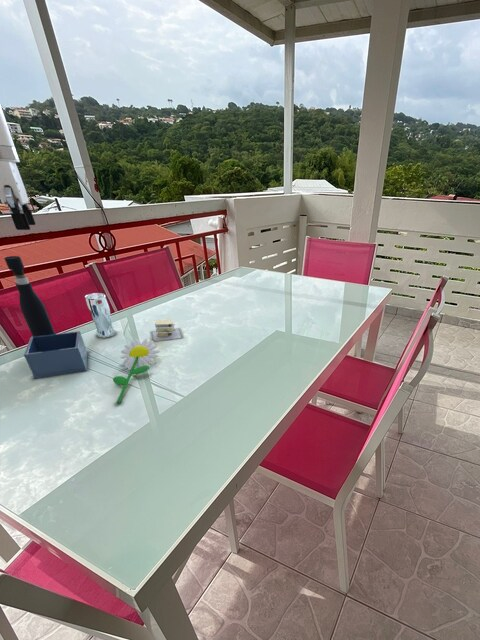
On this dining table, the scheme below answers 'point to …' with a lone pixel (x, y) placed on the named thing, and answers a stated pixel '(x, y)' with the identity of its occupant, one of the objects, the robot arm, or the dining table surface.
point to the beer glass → (100, 314)
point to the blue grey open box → (56, 354)
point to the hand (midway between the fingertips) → (26, 227)
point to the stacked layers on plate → (165, 330)
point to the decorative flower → (136, 361)
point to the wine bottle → (30, 300)
